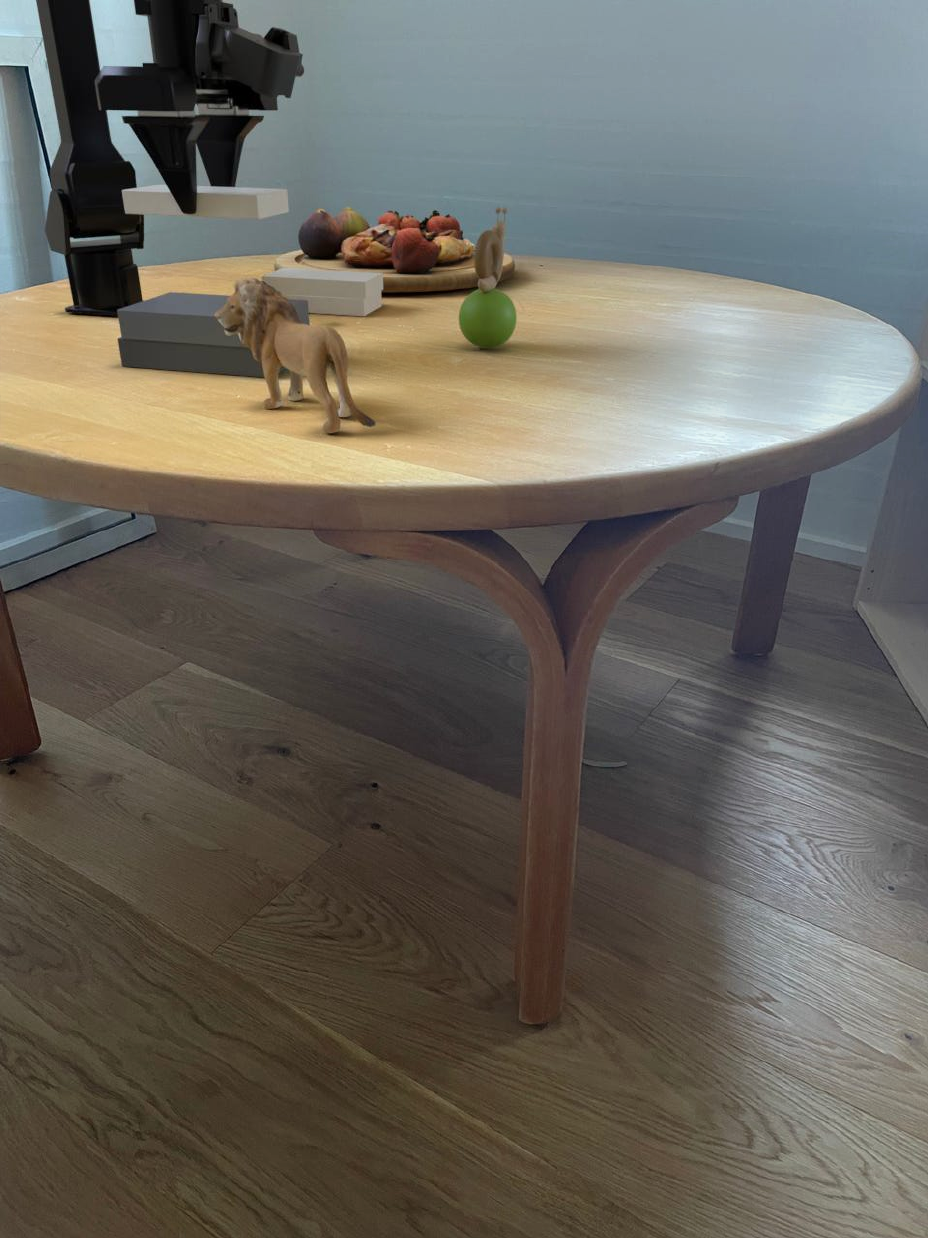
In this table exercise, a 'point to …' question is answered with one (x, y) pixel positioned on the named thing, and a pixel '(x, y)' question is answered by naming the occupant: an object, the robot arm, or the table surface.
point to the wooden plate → (390, 250)
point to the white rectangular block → (209, 202)
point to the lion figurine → (290, 348)
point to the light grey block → (330, 289)
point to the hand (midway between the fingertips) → (207, 209)
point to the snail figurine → (488, 293)
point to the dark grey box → (187, 336)
